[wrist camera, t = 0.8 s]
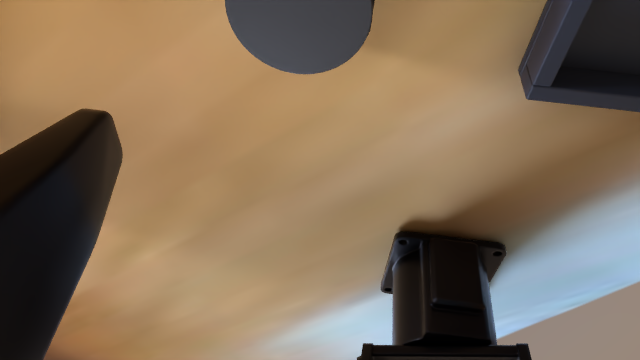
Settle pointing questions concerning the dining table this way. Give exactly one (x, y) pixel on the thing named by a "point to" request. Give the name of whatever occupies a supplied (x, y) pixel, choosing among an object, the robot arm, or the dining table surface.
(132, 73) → the dining table surface
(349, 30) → the cap
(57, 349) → the dining table surface
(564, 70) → the tray
